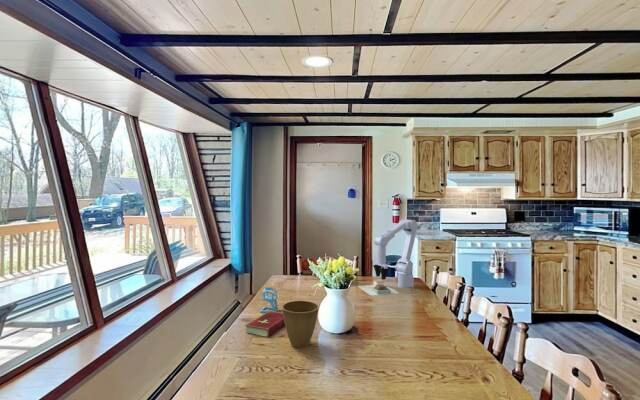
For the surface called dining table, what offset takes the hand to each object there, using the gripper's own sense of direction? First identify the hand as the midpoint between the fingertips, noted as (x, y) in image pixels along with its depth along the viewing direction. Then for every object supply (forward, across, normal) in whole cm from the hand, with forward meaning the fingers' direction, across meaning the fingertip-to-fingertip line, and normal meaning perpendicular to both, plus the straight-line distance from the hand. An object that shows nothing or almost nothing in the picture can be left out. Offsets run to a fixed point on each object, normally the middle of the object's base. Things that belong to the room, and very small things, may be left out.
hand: (380, 277), depth 235 cm
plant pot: (+9, +62, -66) cm, 91 cm away
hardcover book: (+9, +39, -75) cm, 85 cm away
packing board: (+9, -3, -1) cm, 9 cm away
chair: (+9, +17, -71) cm, 74 cm away
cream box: (+8, -9, +3) cm, 12 cm away
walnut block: (+8, +3, -1) cm, 9 cm away
